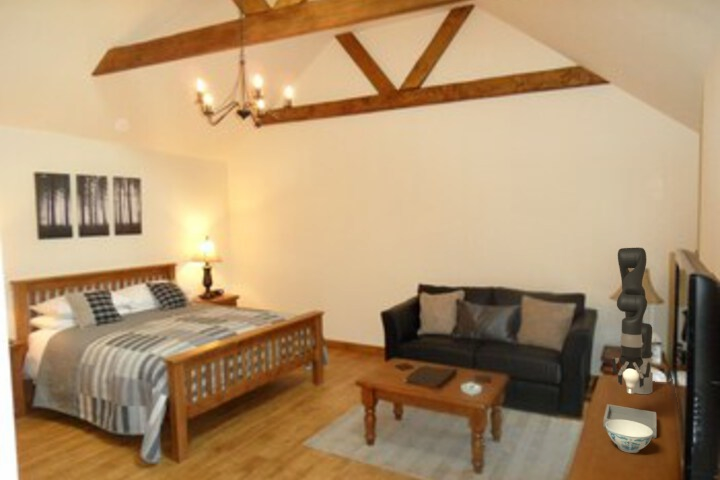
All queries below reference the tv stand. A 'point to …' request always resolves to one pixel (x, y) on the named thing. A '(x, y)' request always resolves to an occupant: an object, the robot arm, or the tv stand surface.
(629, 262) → the robot arm
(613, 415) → the tray
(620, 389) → the tv stand surface
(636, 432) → the chinaware
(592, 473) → the tv stand surface
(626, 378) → the lightbulb
